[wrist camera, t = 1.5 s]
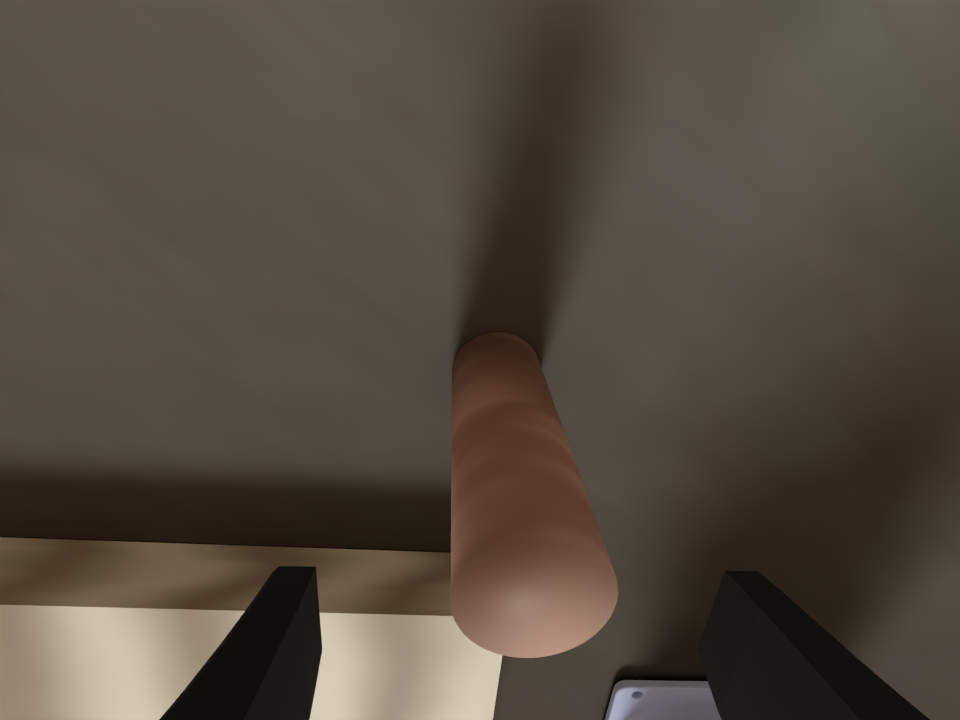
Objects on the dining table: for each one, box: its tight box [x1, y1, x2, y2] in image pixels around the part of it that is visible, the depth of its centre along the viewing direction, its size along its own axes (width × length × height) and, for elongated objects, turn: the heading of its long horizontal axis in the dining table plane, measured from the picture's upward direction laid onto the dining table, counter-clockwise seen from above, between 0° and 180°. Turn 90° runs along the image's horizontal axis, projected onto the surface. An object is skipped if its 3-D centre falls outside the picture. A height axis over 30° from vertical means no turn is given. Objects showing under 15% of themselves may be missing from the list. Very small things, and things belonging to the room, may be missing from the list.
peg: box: [451, 332, 618, 658], centre depth 14 cm, size 3×3×10 cm
